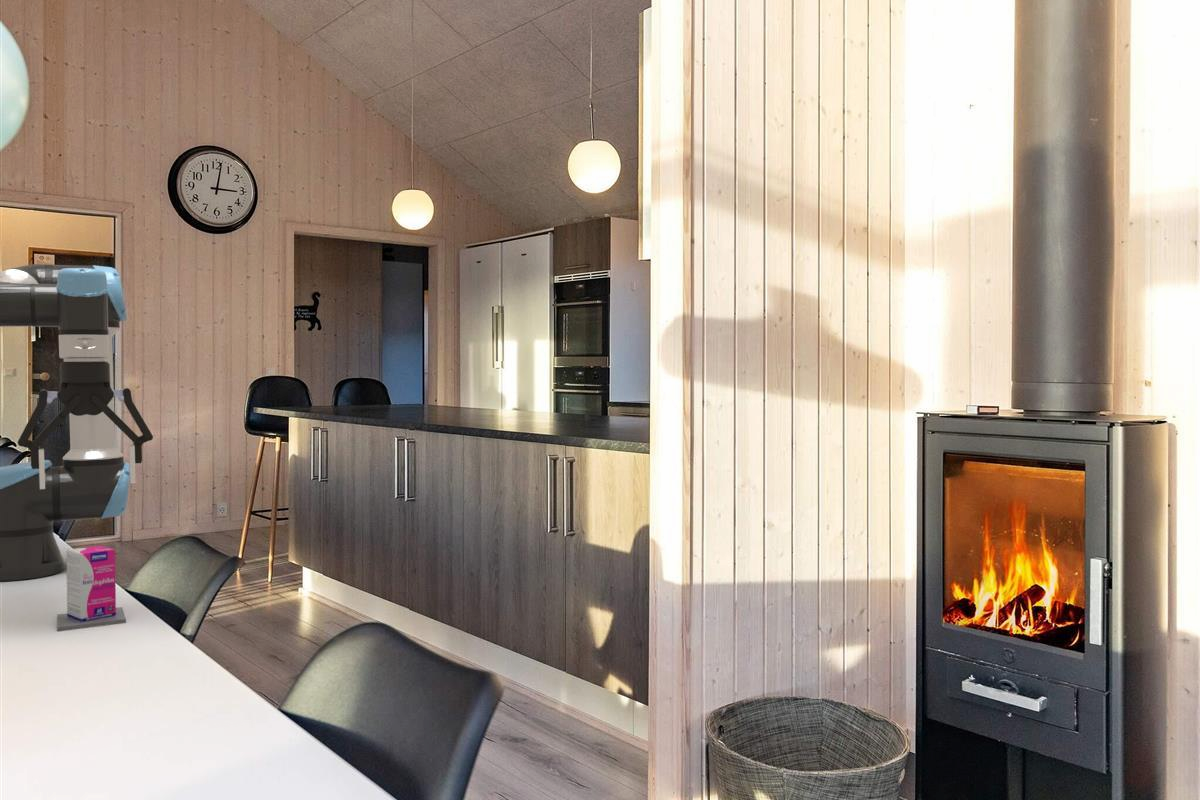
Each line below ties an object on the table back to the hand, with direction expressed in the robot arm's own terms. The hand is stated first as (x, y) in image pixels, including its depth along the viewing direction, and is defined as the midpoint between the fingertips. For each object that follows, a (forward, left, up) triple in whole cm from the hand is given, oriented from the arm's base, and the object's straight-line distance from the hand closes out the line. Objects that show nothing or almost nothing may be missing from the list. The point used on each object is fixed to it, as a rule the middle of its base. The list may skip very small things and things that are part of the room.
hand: (88, 485), depth 166 cm
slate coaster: (+2, 0, -23) cm, 23 cm away
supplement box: (+2, 0, -22) cm, 22 cm away
